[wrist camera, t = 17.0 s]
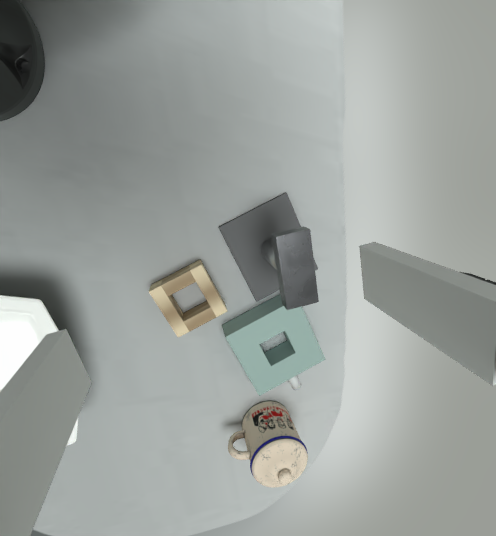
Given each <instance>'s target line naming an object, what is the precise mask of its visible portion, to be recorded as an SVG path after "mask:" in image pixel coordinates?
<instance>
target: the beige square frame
mask: <svg viewBox="0 0 496 536" xmlns="http://www.w3.org/2000/svg"><path fill="white" fill-rule="evenodd" d="M194 282H197V284H198V286H199V287H200V289H201V291H202V293H203V294H204V296H205V298H206V300H207V301H206V302H204V303H202V304H200V305H198V306H196V307H194V308H192V309H190V310H188V311H187V312H185V313H183V312H182V311H181V309H180V307H179V306H178V304H177V302H176V301H175V299H174V297H173V296H172V294H173V293H175V292H177V291H179V290H181V289H183V288H185V287H187V286H189V285H191V284H193V283H194ZM149 293H150V294H151V296H152V298H153V299H154V301H155V302H156V304H157V305H158V307H159V308H160V310H161V312H162V313H163V315H164V316H165V318H166V319H167V321H168V322H169V324H170V326H171V327H172V329H173V330H174V332H175V333H176V335H177V337H180V336H182V335H184V334H186V333H188V332H190V331H191V330H193V329H195V328H197V327H199V326H201V325H203V324H205V323H206V322H208V321H210V320H212V319H214V318H216V317H218V316H220V315H222V314H223V313H225V312H227V308H226V305H225V303H224V301H223V299H222V298H221V296H220V294H219V292H218V290H217V288H216V287H215V285H214V283H213V281H212V279H211V278H210V276H209V274H208V272H207V270H206V269H205V267H204V265H203V263H202V261H201V260H198V261H196V262H194V263H192V264H190V265H189V266H187V267H185V268H183V269H181V270H179V271H177V272H175V273H173V274H171V275H169V276H167V277H165V278H163V279H161V280H160V281H158V282H156V283H154V284H152V285H151V287H150V290H149Z"/></svg>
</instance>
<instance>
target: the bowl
mask: <svg viewBox="0 0 496 536" xmlns="http://www.w3.org/2000/svg"><path fill="white" fill-rule="evenodd" d="M57 331H59V330H58V328H57V326H56V325H55V323H54V321H53V319H52V317H51V316H50V314H49V312H48V310H47V309H46V307H45V305H44V303H43V302H42V301H41V300H40V299H34V298H24V297H15V296H5V295H0V392H1V390H2V389H3V388H4V387H5V385H6V384H7V383H8V382H9V380H10V379H11V378H12V377H13V375H14V374H15V373H16V372H17V370H18V369H19V368H20V367H21V365H22V364H23V363H24V362H25V360H26V359H27V358H28V357H29V355H30V354H31V353H32V352H33V350H34V349H35V348H36V347H37V345H38V344H39V343H40V342H41V341H42V339H43V338H44V337H45V336H46V334H49V333H53V332H57ZM78 417H79V416H78ZM77 429H78V418H77V421H76V423H75V426H74V428H73V431H72V433H71V436H70V438H69V441H68V443H67V445H70V444H72V443H74V442H76V439H77Z"/></svg>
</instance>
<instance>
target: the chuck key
mask: <svg viewBox="0 0 496 536" xmlns="http://www.w3.org/2000/svg"><path fill="white" fill-rule="evenodd" d="M271 238H272V239H268V240H266V241H265V242H264V243H263V244H262V245H261V249H260V252H261V255H262V256H263V257H264V258H265V259H266V260H267V261H268V262H269V263H270V264H271V265H272V266H273V267H274V268H275V269H276V270H277V276H278V282H279V288H280V294H281V300H282V304H283V306H284V307H285V308H286V309H287V310H290V309H294V308H298V307H301V306H305V305H309V304H313V303H316V302H319V301H318V293H317V284H316V276H315V268H314V259H313V251H312V243H311V235H310V229H308V228H306V227H299V228H295V229H290V230H286V231H281V232H277V233H273V234H271Z"/></svg>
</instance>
